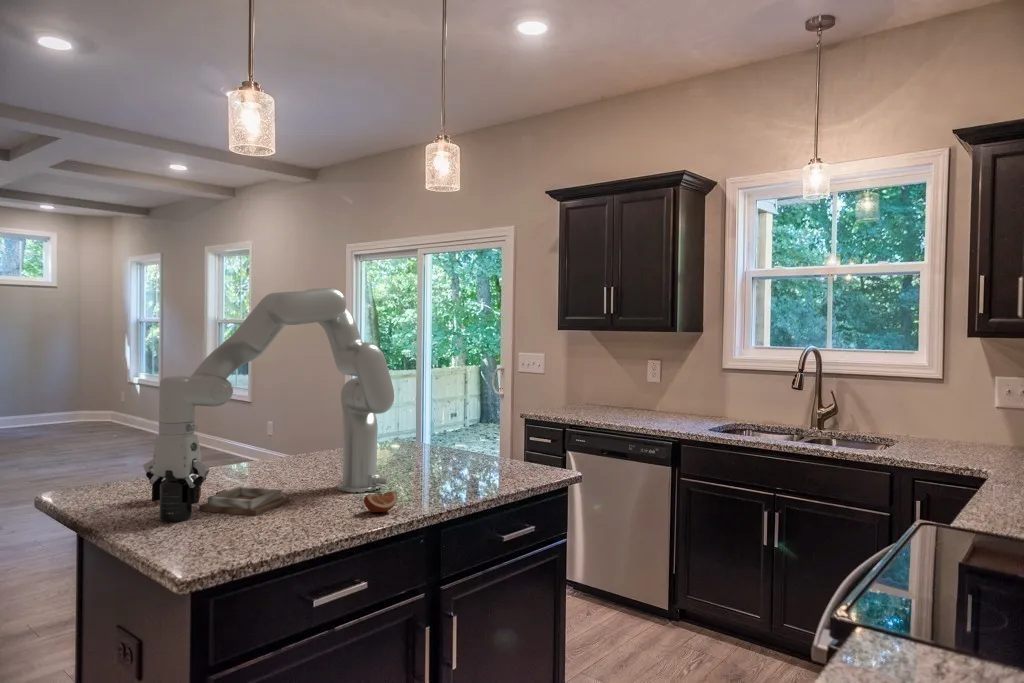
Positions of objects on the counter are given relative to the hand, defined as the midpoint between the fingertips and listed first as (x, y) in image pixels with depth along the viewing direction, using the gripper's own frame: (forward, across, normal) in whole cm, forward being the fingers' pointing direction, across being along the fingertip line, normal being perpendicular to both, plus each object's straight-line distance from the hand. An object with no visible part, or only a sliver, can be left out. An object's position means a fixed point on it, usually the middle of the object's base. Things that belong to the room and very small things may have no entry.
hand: (175, 501), depth 156 cm
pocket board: (+4, -8, -15) cm, 18 cm away
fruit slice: (+4, -43, -20) cm, 48 cm away
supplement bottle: (+4, 0, 0) cm, 4 cm away
